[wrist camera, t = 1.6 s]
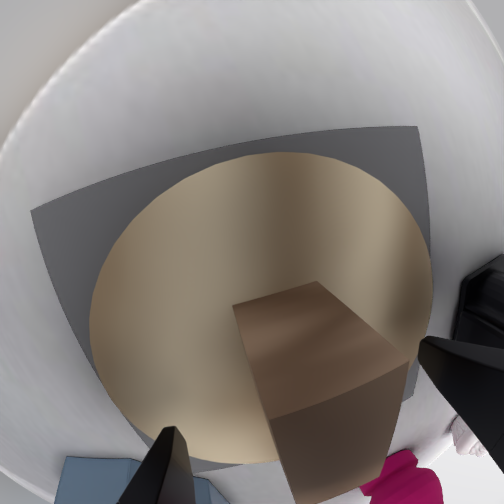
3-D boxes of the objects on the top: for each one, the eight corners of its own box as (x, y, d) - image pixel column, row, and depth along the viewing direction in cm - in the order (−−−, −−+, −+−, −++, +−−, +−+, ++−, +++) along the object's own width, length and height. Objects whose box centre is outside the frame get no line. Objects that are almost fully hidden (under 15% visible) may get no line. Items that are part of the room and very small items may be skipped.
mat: (409, 127, 10) (417, 126, 10) (407, 390, 14) (412, 395, 14) (38, 209, 8) (30, 210, 7) (173, 467, 12) (173, 475, 12)
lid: (412, 137, 10) (525, 130, 4) (407, 394, 14) (459, 448, 8) (43, 219, 8) (-73, 263, 2) (177, 470, 12) (183, 550, 6)
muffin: (434, 437, 19) (467, 474, 12) (471, 393, 18) (509, 427, 12) (451, 435, 21) (480, 466, 14) (482, 397, 20) (515, 425, 13)
